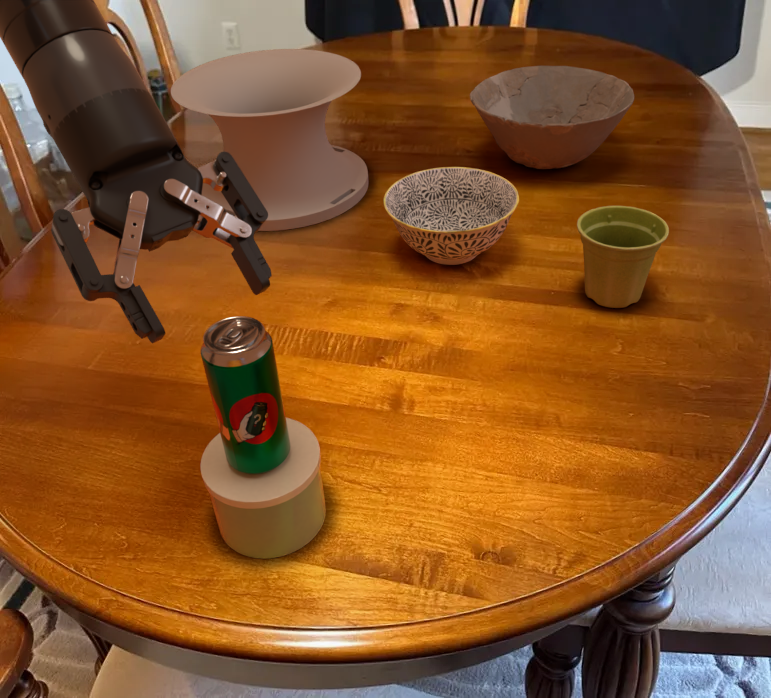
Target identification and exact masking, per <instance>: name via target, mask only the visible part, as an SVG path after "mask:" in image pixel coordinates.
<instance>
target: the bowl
mask: <svg viewBox="0 0 771 698" xmlns="http://www.w3.org/2000/svg"><path fill="white" fill-rule="evenodd" d="M382 202H383V207H384V209H385V211H386V213H387V215H388V216H389V217H390V218H391V220H392V221H393V224H394V226H395V228H396V230H397V232H398V233H399V235H400V237H401V239H403V240H404V242H405V243H406V244H407V245H408V246H409V247H410V248H411V249H413V250H414V251H415V252H417V253H419V254H421V255H423V256H425V257H426V258H427V259H428V260H429V261H431V262H433V263H436V264H439V265H445V266H455V265H462V264H466V263H468V262H471V261H473V260H474V259H475V258H476V257H477V256H478V255H480V254H483V253H484V252H486V251H487V250H489V249H490V248H492V247H493V246H495V244H496V243H497V242H498V241H499V240H500V238H501V236H502V235H503V234H504V231H506V228H507V226H508V224H509V222H510V219H511V217H512V215H513V214H514V212H515V211H516V209H517V208H518V205H519V202H520V194H519V191H518V189H517V188H516V186H515V185H514V183H511V181H509V180H508V179H506V178H504V177H503V176H501V175H499V174H496V173H494V172H492V171H488V170H484V169H479V168H474V167H465V166H443V167H434V168H428V169H423V170H420V171H416V172H413V173H410V174H407V175H406V176H403V177H401V178H400V179H398V180H397V181H395V182H393V184H391V185H390V187H389V188H387V189H386V192H385V194H384V195H383V201H382Z"/></svg>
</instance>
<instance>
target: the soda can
mask: <svg viewBox="0 0 771 698" xmlns="http://www.w3.org/2000/svg"><path fill="white" fill-rule="evenodd" d="M202 342H203V343H202V344H201V347H200V357H201V362H202V365H203V370H204V373H205V377H206V381H207V385H208V390H209V394H210V398H211V401H212V405H213V410H214V414H215V418H216V422H217V426H218V430H219V433H220V434H221V438H222V442H223V447H224V451H225V455H226V459H227V461H228V463H229V464H230V466H231V467H233V468H234V469H236V470H237V471H240V472H243V473H246V474H253V475H255V474H263V473H267V472H269V471H272V470H274V469H275V468H277V467H278V466H279V465H280V464H282V463H283V462H284V460H285V459H286V458H287V456H288V454H289V452H290V439H289V433H288V428H287V422H286V418H287V417H286V412H285V405H284V400H283V395H282V389H281V381H280V377H279V370H278V366H277V359H276V353H275V348H274V342H273V338H272V336H271V334H270V333H269V332H268V331H267V330H266V328H265V325H264V324H263V323H262V322H261V321H260V320H258V319H256V318H254V317H251V316H245V315H237V316H229V317H226V318H223V319H220V320H218V321H216V322H214V323H212V324H211V325H210V326H208V328H207V329H206V330H205V332H204V333H203V336H202Z"/></svg>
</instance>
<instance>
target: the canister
mask: <svg viewBox="0 0 771 698" xmlns="http://www.w3.org/2000/svg"><path fill="white" fill-rule="evenodd" d="M286 422H287V428H288V433H289V439H290V452H289V454H288V456H287V458H286V459H285V460H284V462H283V463H282V464H280V465H279V466H278V467H277V468H275V469H274V470H272V471H269V472H267V473H263V474H255V475H253V474H246V473H243V472H240V471H237V470H236V469H234V468H233V467H231V466H230V464H229V463H228V461H227V459H226V455H225V451H224V447H223V442H222V438H221V434H220V432H219V433H217V434H216V435H215V436H214V437H213V438H212V439H211V440H210V441H209V443H208V444H207V445H206V447H205V449H204V451H203V453H202V455H201V459H200V465H199V467H200V475H201V478H202V482H203V484H204V486H205V489H206V490H207V492H208V493H209V497H210V501H211V505H212V508H213V513H214V516H215V519H216V523H217V526H218V527H217V528H218V530H219V533H220V536H221V538H222V540H223V541H224V543H225V544H226V545H227V546H228V547H229V548H231V549H232V550H233V551H234V552H237V553H238V554H240V555H242V556H245V557H249V558H253V559H276V558H281V557H284V556H286V555H290V554H293V553H295V552H297V551H299V550H300V549H302V548H303V547H305V546H307V545H308V544H309V543H310V542H311V541H313V539H314V538H315V537H316V536H317V535H318V534H319V532H320V530H321V529H322V527H323V525H324V522H325V519H326V513H327V506H326V500H325V492H324V486H323V478H322V472H321V471H322V470H321V462H322V456H321V455H322V454H321V447H320V443H319V440H318V438H317V437H316V435H315V433H314V432H313V431H312V430H311V428H309V427H307V425H305V424H304V423H302V422H300V421H298V420H296V419H293V418H289V417H286Z"/></svg>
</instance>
